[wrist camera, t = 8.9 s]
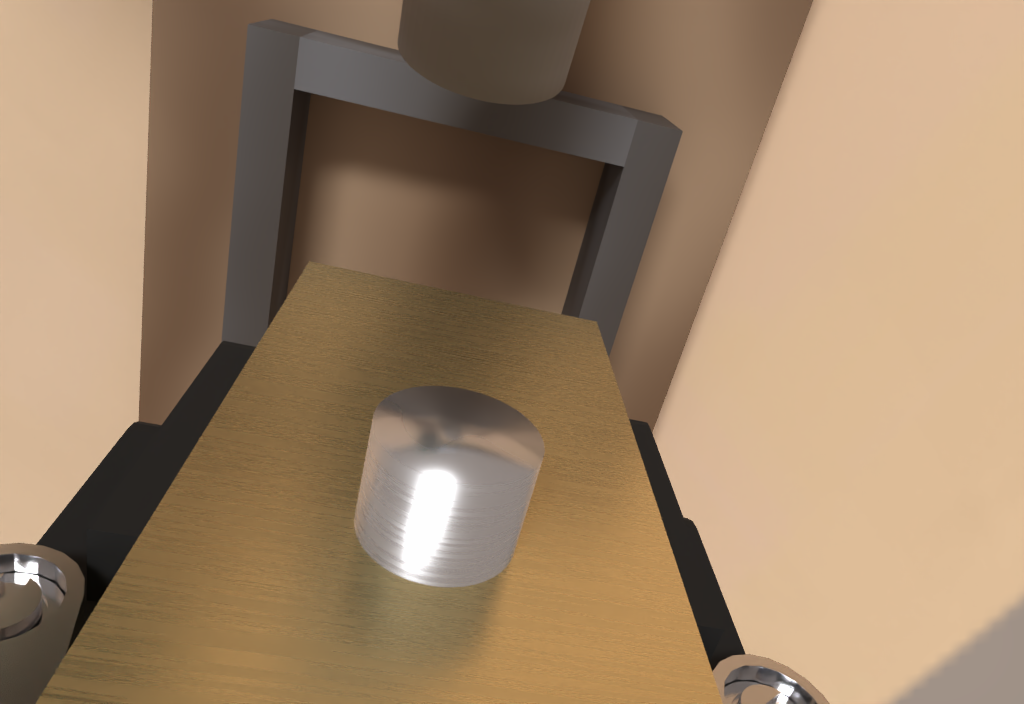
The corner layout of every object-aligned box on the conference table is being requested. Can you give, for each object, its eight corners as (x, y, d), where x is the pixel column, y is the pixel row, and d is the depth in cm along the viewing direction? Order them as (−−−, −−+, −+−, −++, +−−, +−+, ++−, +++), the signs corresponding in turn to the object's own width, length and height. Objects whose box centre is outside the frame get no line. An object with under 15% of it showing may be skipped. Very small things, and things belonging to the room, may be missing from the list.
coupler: (317, 195, 11) (-14, 626, 4) (615, 261, 11) (840, 746, 4) (271, 545, 13) (29, 1192, 6) (514, 584, 14) (546, 1218, 7)
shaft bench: (152, 547, 25) (-38, 883, 16) (198, -456, 14) (-284, -1204, 5) (568, 609, 27) (617, 940, 18) (871, -234, 16) (1374, -500, 7)
